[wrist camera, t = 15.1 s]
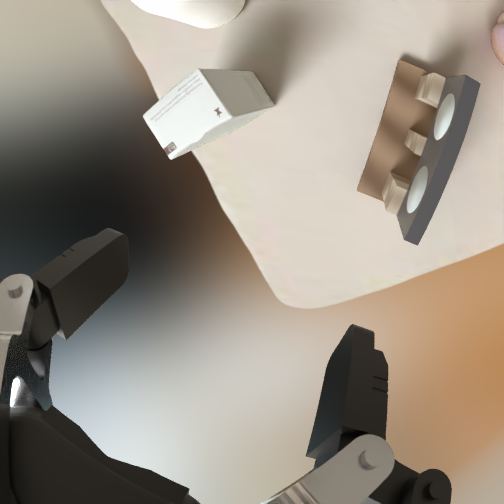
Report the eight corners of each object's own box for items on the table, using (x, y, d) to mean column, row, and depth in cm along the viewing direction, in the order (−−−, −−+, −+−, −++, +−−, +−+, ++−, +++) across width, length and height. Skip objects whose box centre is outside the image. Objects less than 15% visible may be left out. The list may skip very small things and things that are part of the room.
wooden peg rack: (398, 61, 28) (409, 51, 21) (467, 94, 26) (493, 95, 20) (357, 187, 38) (357, 208, 31) (423, 215, 36) (435, 241, 29)
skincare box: (253, 71, 34) (200, 60, 22) (277, 108, 36) (236, 115, 24) (204, 103, 38) (138, 113, 26) (226, 138, 40) (167, 162, 28)
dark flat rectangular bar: (445, 78, 21) (465, 75, 16) (458, 84, 21) (480, 83, 16) (396, 215, 30) (404, 239, 25) (408, 220, 30) (417, 245, 25)
